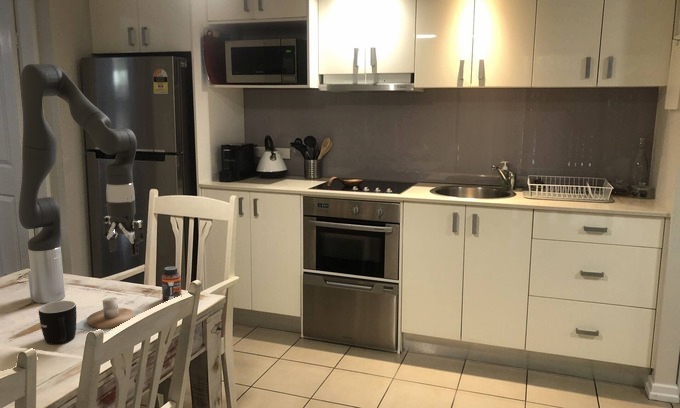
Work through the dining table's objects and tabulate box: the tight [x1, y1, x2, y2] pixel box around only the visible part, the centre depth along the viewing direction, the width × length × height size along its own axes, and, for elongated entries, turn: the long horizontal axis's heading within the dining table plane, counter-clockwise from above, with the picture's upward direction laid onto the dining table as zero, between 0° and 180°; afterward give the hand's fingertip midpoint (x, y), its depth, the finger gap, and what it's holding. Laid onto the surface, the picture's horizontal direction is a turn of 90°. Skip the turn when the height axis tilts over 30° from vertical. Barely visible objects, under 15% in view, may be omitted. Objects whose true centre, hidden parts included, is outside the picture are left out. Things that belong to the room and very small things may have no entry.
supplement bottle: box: [161, 266, 182, 303], centre depth 181 cm, size 6×6×11 cm
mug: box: [38, 300, 77, 346], centre depth 150 cm, size 12×9×10 cm
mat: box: [76, 308, 143, 333], centre depth 165 cm, size 16×16×1 cm
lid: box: [86, 297, 135, 329], centre depth 165 cm, size 13×13×6 cm
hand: (124, 253), depth 165 cm, fingers open, 8 cm apart
